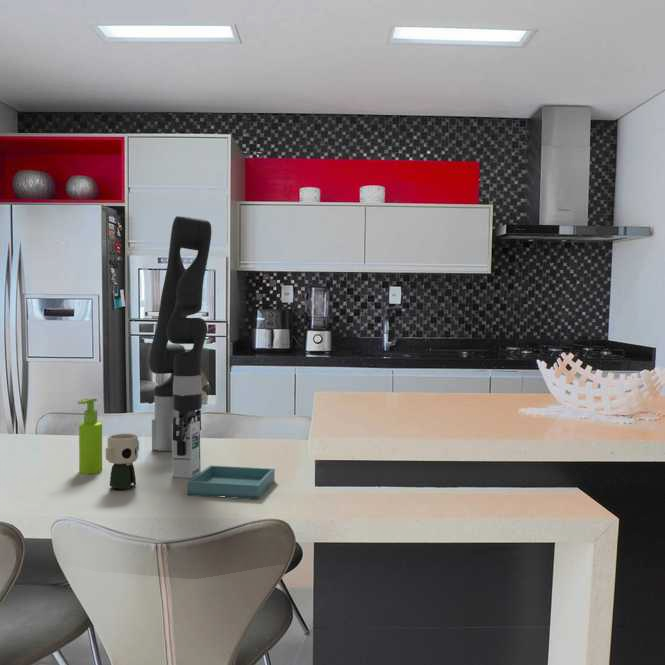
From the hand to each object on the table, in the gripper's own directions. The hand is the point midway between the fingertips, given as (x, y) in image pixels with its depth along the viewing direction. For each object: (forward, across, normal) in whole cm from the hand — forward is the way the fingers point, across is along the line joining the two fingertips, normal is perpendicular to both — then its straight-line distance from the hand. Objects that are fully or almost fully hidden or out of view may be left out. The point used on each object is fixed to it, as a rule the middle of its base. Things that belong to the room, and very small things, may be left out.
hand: (187, 451), depth 168 cm
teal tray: (+6, +9, +16) cm, 19 cm away
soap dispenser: (+6, +2, -27) cm, 28 cm away
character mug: (+7, +14, -12) cm, 19 cm away
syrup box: (+7, 0, 0) cm, 7 cm away
